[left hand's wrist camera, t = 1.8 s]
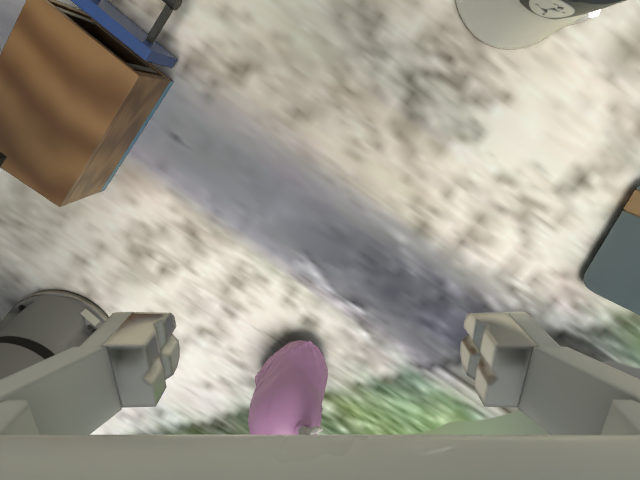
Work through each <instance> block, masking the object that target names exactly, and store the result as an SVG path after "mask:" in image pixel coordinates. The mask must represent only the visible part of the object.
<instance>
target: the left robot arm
mask: <svg viewBox="0 0 640 480" xmlns="http://www.w3.org/2000/svg"><path fill="white" fill-rule="evenodd" d="M455 1H456V5H457V8H458V11H459V14H460V16H461V18H462V20H463V22H464V24H465V25H466V27H467V28H468V29H469V31H470V32H471V33H472V34H473V35H474V36H475V37H476V38H478V39H479V40H480V41H482V42H484V43H486V44H487V45H490V46H492V47H496V48H500V49H520V48H524V47H528V46H531V45H534V44H536V43H538V42H540V41H542V40H544V39H545V38H547V37H548V36H550V35H551V34H553V33H554V32H556V31H558V30H559V29H561V28H563V27H564V26H568V25H572V24H577V23H580V22H583V21H586V20H588V19H590V18H592V17H595V16H598V15H599V12H600V10H601V9H603V8H606V7H608V6H611V5H614V4H616V3H621V2H624V1H626V0H455ZM175 328H176V323H175V318H174V316H173V315H172V314H171V313H153V312H117V313H113V314H112V315H111V316H110V317H109V318H108V319H107V320H106V321H105V322H104V323H103V324H102V325H101V326H100V327H99V328H98V329H97V330H96V331H95V332H94V333H93V334H92V335H91V336H90V337H89V338H88V339H87V340H86V341H85V342H84V343H83V344H82V345H81V346H80V347H72V348H70V349H67V350H65V351H63V352H61V353H58V354H56V355H54V356H52V357H50V358H47V359H45V360H43V361H41V362H38V363H36V364H34V365H32V366H29V367H27V368H25V369H23V370H20V371H18V372H16V373H14V374H12V375H9V376H7V377H5V378H3V379H0V480H640V380H639V379H637V378H635V377H633V376H631V375H628V374H626V373H624V372H622V371H619V370H617V369H615V368H613V367H610V366H608V365H606V364H604V363H602V362H599V361H597V360H595V359H593V358H590V357H588V356H586V355H584V354H582V353H579V352H577V351H575V350H573V349H570V348H568V347H560V346H559V345H558V344H557V343H556V342H555V341H554V340H553V339H552V338H551V337H550V336H549V335H548V334H547V333H546V332H545V331H544V330H543V329H542V328H541V327H540V326H539V325H538V324H537V323H536V322H535V321H534V320H533V319H532V318H531V317H530V316H529V315H528V314H527V313H524V312H504V313H468V314H467V316H466V318H465V322H464V328H465V329H466V331H467V333H468V334H467V335H466V336H465V337H464V338H463V339H462V340H461V348H460V354H461V362H462V365H463V368H464V370H465V372H466V374H467V375H468V376H469V377H471V378H472V379H474V380H475V382H474V389H475V390H476V392H477V394H478V396H479V398H480V399H481V401H482V403H483V405H484V407H519V408H518V409H519V410H520V411H521V412H523V413H524V414H525V415H527V416H528V417H529V418H530V419H532V420H533V421H534V422H535V423H537V424H538V425H539V426H540V427H542V428H543V429H544V430H546V431H547V432H548V433H549V434H551V435H90V434H91V433H92V432H93V431H95V430H96V429H97V428H98V427H100V426H101V425H102V424H103V423H105V422H106V421H107V420H109V419H110V418H111V417H112V416H114V415H115V414H116V413H117V412H119V411H120V410H121V409H122V408H121V407H155V406H156V405H157V403H158V401H159V399H160V398H161V396H162V394H163V392H164V390H165V389H166V382H165V380H166V379H168V378H169V377H171V376H172V375H173V374H174V372H175V370H176V368H177V365H178V361H179V355H180V347H179V340H178V339H177V338H176V337H175V336H174V335H173V334H172V333H173V331H174V329H175Z"/></svg>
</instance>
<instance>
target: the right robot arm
mask: <svg viewBox="0 0 640 480" xmlns="http://www.w3.org/2000/svg"><path fill="white" fill-rule="evenodd" d="M6 158H7V156H5V155H4V154H3V153H1V152H0V167H1V165H2V164H3V162H4V161H5V159H6ZM107 319H108V317H107V316H106V314H105V313H104V312H103V311H102V310H101V309H100V308H99V307H97V306H96V305H95V304H93V303H92V302H90V301H89V300H87V299H85V298H83V297H81V296H79V295H76V294H73V293H70V292H66V291H59V290H47V291H41V292H37V293H35V294H32V295H30V296H28V297H27V298H25V299H24V300H22V301H21V302H19V303H18V304H17V305H16V306H15V307H14V308H12V309H11V310H10V312H9V313H8V314H7V315H6V317H5V318H4V320H3V321H2V323H1V324H0V379H3V378H5V377H7V376H9V375H12V374H14V373H16V372H18V371H20V370H23V369H25V368H27V367H29V366H32V365H34V364H36V363H38V362H41V361H43V360H45V359H47V358H50V357H52V356H54V355H56V354H58V353H61V352H63V351H65V350H67V349H70V348H72V347H80V346H81V345H82V344H83V343H84V342H85V341H86V340H87V339H88V338H89V337H90V336H91V335H92V334H93V333H94V332H95V331H96V330H97V329H98V328H99V327H100V326H101V325H102V324H103V323H104V322H105V321H106V320H107Z"/></svg>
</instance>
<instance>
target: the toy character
mask: <svg viewBox="0 0 640 480" xmlns="http://www.w3.org/2000/svg"><path fill="white" fill-rule="evenodd" d="M327 377H328V369H327V366H326V363H325V359H324V356H323V354H322V353H321V351H320V350H319V348H318V347H317V346H315V345H314V344H313V343H312V342H311V341H305V340H298V341H292V342H289V343H288V344H286V345H285V346H284V347H282V348H281V349H280V350H278V351H277V352H275V353H274V354H273V355H272V356H270V357H269V359H268V360H267V361H266V362H265V364H264V365H263V367H262V369H261V370H260V371H259V372H258V373H257V375H256V376H255V383H256V389H255V391H254V394H253V397H252V400H251V404H250V409H249V419H248V423H249V433H250V435H317V434H318V433H320V432H321V431H322V430H323V428H322V427H320V424H321V416H322V414H321V412H322V405H321V404H322V401H323V397H324V391H325V387H326V383H327Z"/></svg>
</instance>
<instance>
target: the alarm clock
mask: <svg viewBox="0 0 640 480" xmlns="http://www.w3.org/2000/svg"><path fill="white" fill-rule="evenodd" d="M636 189H637V190H635V191H634V192H633V194H632V196H631V197H630V199H629V201H628V202H627V204H626V206H625V207H624V209H625V211H624V210H623V211H622V212H621V214H620V216H619V217H618V219H617V221H616V222H615V224H614V226H613V227H612V229H611V231H610V232H609V234H608V236H607V237H606V239H605V241H604V242H603V244H602V246H601V247H600V249H599V251H598V252H597V254H596V255H595V257H594V259H593V260H592V262H591V264H590V265H589V267H588V269H587V270H586V272H585V274H584V279H583V281H584V283H585V286H586V287H587V288H588V289H589V290H591V291H592V292H594V293H596V294H598V295H600V296H602V297H604V298H606V299H608V300H610V301H612V302H614V303H616V304H618V305H620V306H622V307H624V308H626V309H628V310H630V311H632V312H634V313H636V314H638V315H640V185H639V186H638V187H637V188H636Z"/></svg>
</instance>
